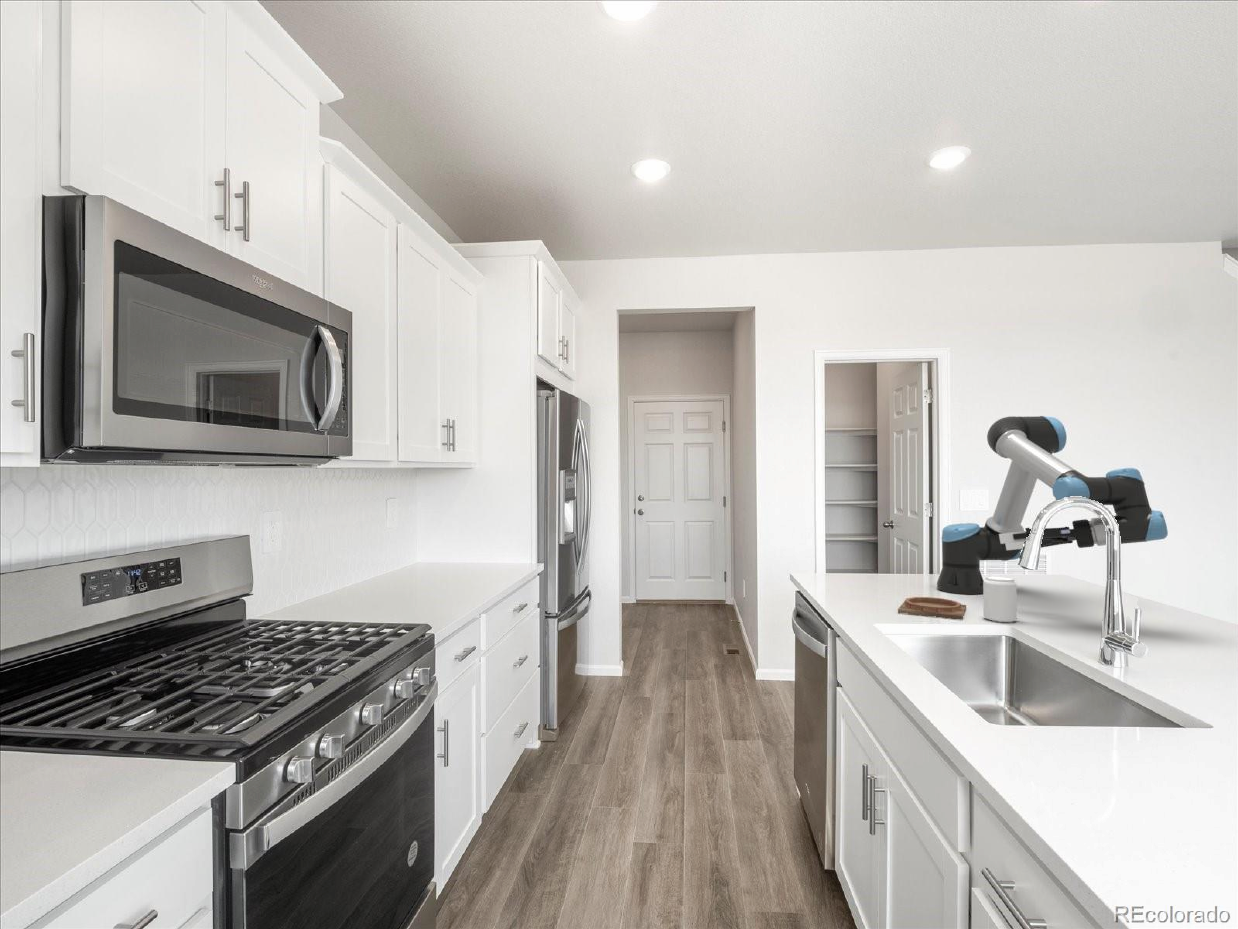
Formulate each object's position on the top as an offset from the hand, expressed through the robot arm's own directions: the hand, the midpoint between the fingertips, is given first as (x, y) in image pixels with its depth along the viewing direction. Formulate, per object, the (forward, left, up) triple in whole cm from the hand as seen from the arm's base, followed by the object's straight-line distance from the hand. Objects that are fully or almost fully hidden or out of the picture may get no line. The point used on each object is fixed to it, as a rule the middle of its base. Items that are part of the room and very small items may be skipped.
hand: (1002, 542), depth 185 cm
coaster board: (+17, -8, -22) cm, 28 cm away
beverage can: (+3, +3, -22) cm, 22 cm away
